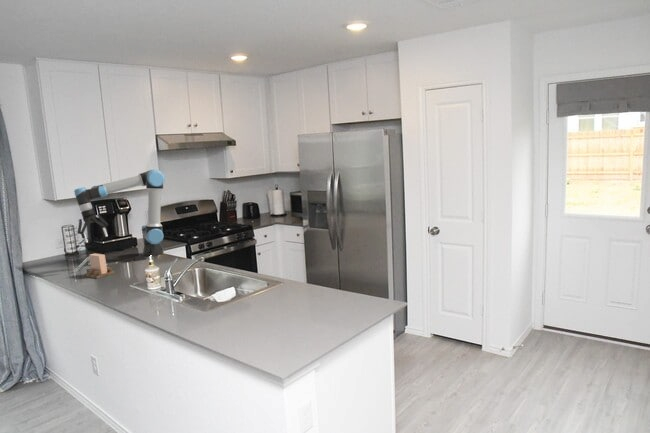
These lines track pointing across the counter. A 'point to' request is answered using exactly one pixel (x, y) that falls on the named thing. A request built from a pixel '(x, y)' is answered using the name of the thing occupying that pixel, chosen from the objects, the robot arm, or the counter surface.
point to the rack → (98, 273)
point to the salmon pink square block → (98, 262)
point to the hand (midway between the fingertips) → (97, 239)
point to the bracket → (83, 264)
